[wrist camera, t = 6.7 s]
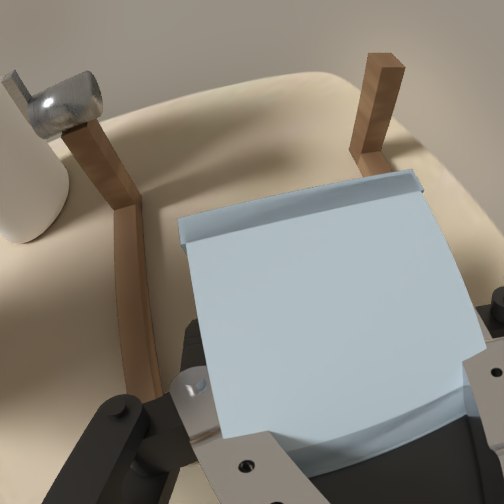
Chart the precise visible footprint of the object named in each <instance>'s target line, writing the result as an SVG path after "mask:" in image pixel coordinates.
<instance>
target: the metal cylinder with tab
mask: <svg viewBox="0 0 504 504" xmlns="http://www.w3.org/2000/svg"><path fill="white" fill-rule="evenodd" d="M1 83H2V84H3V86H4V87H5V89H6V90H7V92H8V94H9V95H10V97H11V98H12V100H13V101H14V103H15V104H16V106H17V107H18V108H19V110H20V111H21V113H22V114H23V116H24V117H25V119H26V120H27V122H28V123H29V124H30V125H31V126H32V128H33V130H34V131H35V133H36V134H37V135H38V136H39V137H40V138H42V139H48V138H50V137H52V136H55V135H57V134H59V133H61V132H64V131H66V130H68V129H71V128H73V127H76V126H78V125H80V124H83V123H85V122H88V121H91V120H93V119H96V118H98V117H100V116H101V115H102V112H103V102H102V96H101V91H100V89H99V86H98V83H97V80H96V79H95V77H94V75H93V74H92V73H91V72H90V71H85V72H82V73H80V74H78V75H75V76H73V77H71V78H69V79H66V80H64V81H62V82H60V83H58V84H56V85H54V86H52V87H49V88H47V89H46V90H43V91H41V92H39V93H37V94H35V95H34V96H31V95H30V93H29V92H28V90H27V88H26V87H25V85H24V84H23V82H22V80H21V79H20V77H19V75H18V74H17V72H16V70H13V71H12V72H10V73H9V74H7V75H5V77H4V78H3V80H2V82H1Z"/></svg>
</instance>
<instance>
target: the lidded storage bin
mask: <svg viewBox="0 0 504 504" xmlns="http://www.w3.org/2000/svg"><path fill="white" fill-rule="evenodd" d="M423 191H424V189H423V187H422V185H421V183H420V181H419V180H418V178H417V176H416V175H415V173H414V171H413V169H408V170H402V171H396V172H391V173H385V174H379V175H374V176H368V177H363V178H357V179H352V180H347V181H342V182H337V183H332V184H327V185H322V186H317V187H312V188H307V189H302V190H297V191H293V192H288V193H283V194H279V195H274V196H270V197H265V198H261V199H256V200H252V201H248V202H243V203H239V204H235V205H230V206H226V207H222V208H218V209H214V210H210V211H206V212H201V213H197V214H193V215H189V216H186V217H182V218H178V219H177V220H178V228H179V235H180V243H181V246H182V248H183V249H184V251H185V253H186V254H187V256H188V262H189V268H190V274H191V281H192V287H193V293H194V299H195V305H196V310H197V316H198V322H199V327H200V332H201V338H202V343H203V348H204V353H205V358H206V363H207V368H208V373H209V378H210V383H211V387H212V392H213V397H214V401H215V406H216V410H217V415H218V419H219V423H220V428H221V432H222V436H223V439H226V438H232V437H237V436H243V435H248V434H253V433H258V432H263V431H267V430H268V431H269V432H270V434H271V435H272V436H273V437H274V439H275V440H276V441H277V442H278V444H279V445H280V446H281V447H282V449H283V450H284V451H285V452H286V453H287V455H288V456H289V457H290V458H291V459H292V461H293V462H294V463H295V464H296V465H297V467H298V468H299V469H300V470H301V471H302V472H303V474H304V475H305V476H306V477H307V478H310V477H314V476H317V475H321V474H324V473H328V472H331V471H335V470H338V469H341V468H344V467H347V466H350V465H353V464H356V463H359V462H362V461H365V460H368V459H371V458H373V457H376V456H379V455H381V454H384V453H386V452H389V451H391V450H394V449H396V448H399V447H401V446H403V445H406V444H408V443H410V442H412V441H415V440H417V439H419V438H421V437H423V436H426V435H428V434H430V433H432V432H434V431H436V430H438V429H440V428H442V427H444V426H446V425H448V424H450V423H451V422H453V421H455V420H457V419H459V418H461V417H463V415H465V414H467V412H466V408H465V404H464V401H463V372H462V361H464V360H466V359H468V358H470V357H472V356H474V355H476V354H478V353H479V352H481V351H483V350H485V349H487V347H486V344H485V341H484V337H483V334H482V331H481V328H480V325H479V322H478V319H477V316H476V313H475V310H474V308H473V305H472V302H471V299H470V297H469V294H468V291H467V289H466V286H465V284H464V281H463V279H462V276H461V274H460V271H459V269H458V267H457V264H456V262H455V260H454V257H453V255H452V253H451V250H450V248H449V246H448V244H447V242H446V240H445V237H444V235H443V233H442V231H441V229H440V227H439V225H438V223H437V221H436V219H435V217H434V215H433V213H432V211H431V209H430V207H429V205H428V203H427V201H426V199H425V198H424V196H423V194H422V193H423Z"/></svg>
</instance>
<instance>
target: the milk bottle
mask: <svg viewBox="0 0 504 504" xmlns="http://www.w3.org/2000/svg"><path fill="white" fill-rule="evenodd" d="M2 80H3V79H2V77H1V76H0V236H1V237H3V238H4V239H5V240H7V241H9V242H12V243H25V242H29V241H31V240H33V239H35V238H36V237H38V236H39V235H40V234H42V233H43V232H44V231H45V230H46V229H47V228H48V227H50V225H51V224H52V223H53V222H54V220H55V219H56V218H57V216H58V215H59V213H60V212H61V210H62V208H63V206H64V204H65V201H66V198H67V196H68V191H69V177H68V173H67V170H66V168H65V167H64V165H63V164H62V163H61V161H60V160H59V158H58V157H57V156H56V154H55V153H54V152H53V150H52V149H51V148H50V146H49V145H48V143H47V142H46V141H45V139H42V138H40V137H39V136H38V135H37V134H36V133H35V131H34V130H33V128H32V126H31V125H30V124H29V123H28V122H27V120H26V119H25V117H24V116H23V114H22V113H21V111H20V110H19V108H18V107H17V106H16V104H15V103H14V101H13V100H12V98H11V97H10V95H9V94H8V92H7V90H6V89H5V87H4V86H3V84H2V83H1V82H2Z"/></svg>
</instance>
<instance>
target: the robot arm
mask: <svg viewBox="0 0 504 504" xmlns="http://www.w3.org/2000/svg"><path fill="white" fill-rule="evenodd" d="M472 305H473V304H472ZM473 308H474V310H475V313H476V316H477V319H478V322H479V325H480V328H481V331H482V334H483V337H484V341H485V344H486V347H487V349H485V350H483V351H481V352H479V353H478V354H476V355H474V356H472V357H470V358H468V359H466V360H464V361H462V372H463V401H464V404H465V408H466V412H467V414H465V415H463V417H461V418H459V419H457V420H455V421H453V422H451V423H450V424H448V425H446V426H444V427H442V428H440V429H438V430H436V431H434V432H432V433H430V434H428V435H426V436H423V437H421V438H419V439H417V440H415V441H412V442H410V443H408V444H406V445H403V446H401V447H399V448H396V449H394V450H391V451H389V452H386V453H384V454H381V455H379V456H376V457H373V458H371V459H368V460H365V461H362V462H359V463H356V464H353V465H350V466H347V467H344V468H341V469H338V470H335V471H331V472H328V473H324V474H321V475H317V476H314V477H310V478H307V477H306V476H305V475H304V474H303V472H302V471H301V470H300V469H299V468H298V467H297V465H296V464H295V463H294V462H293V461H292V459H291V458H290V457H289V456H288V455H287V453H286V452H285V451H284V450H283V449H282V447H281V446H280V445H279V444H278V442H277V441H276V440H275V439H274V437H273V436H272V435H271V434H270V432H269V431H268V430H267V431H263V432H258V433H253V434H248V435H243V436H237V437H232V438H226V439H223V436H222V432H221V428H220V423H219V419H218V415H217V410H216V406H215V401H214V397H213V392H212V387H211V383H210V378H209V373H208V368H207V363H206V358H205V353H204V348H203V343H202V338H201V332H200V327H199V322H198V319H195V320H192V321H191V323H190V324H189V325H188V327H187V328H186V331H185V338H184V339H185V340H184V348H183V353H182V361H181V369H180V373H179V374H178V375H176V376H175V377H174V378H173V380H172V381H171V383H170V386H169V392H168V393H167V394H165V395H163V396H161V397H159V398H157V399H154V400H152V401H149V402H146V403H143V404H142V403H141V401H140V399H139V398H137V397H136V396H134V395H129V394H123V395H118V396H115V397H112V398H110V399H109V400H107V401H106V402H104V403H103V404H102V405H101V406H100V407H99V409H98V410H97V412H96V413H95V415H94V417H93V418H92V420H91V421H90V423H89V425H88V426H87V428H86V429H85V431H84V433H83V434H82V436H81V438H80V439H79V441H78V442H77V444H76V446H75V447H74V449H73V451H72V452H71V454H70V456H69V457H68V459H67V461H66V462H65V464H64V466H63V467H62V469H61V471H60V472H59V474H58V476H57V478H56V479H55V481H54V483H53V484H52V486H51V488H50V490H49V491H48V493H47V495H46V497H45V498H44V500H43V502H42V504H168V503H169V500H170V497H171V495H172V492H173V489H174V486H175V483H176V480H177V477H178V474H179V471H180V467H183V466H185V465H188V464H190V463H193V462H195V461H199V463H200V465H201V467H202V469H203V471H204V473H205V475H206V477H207V479H208V481H209V483H210V485H211V487H212V488H213V490H214V492H215V494H216V496H217V498H218V500H219V501H220V503H221V504H504V287H499V288H497V289H496V290H495V291H494V292H493V295H492V301H491V304H490V305H484V306H478V307H474V305H473Z"/></svg>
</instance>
